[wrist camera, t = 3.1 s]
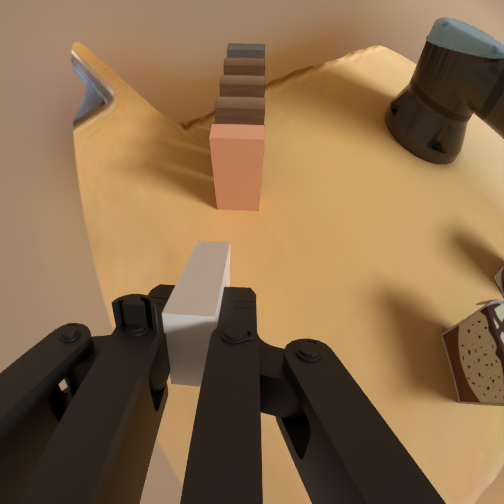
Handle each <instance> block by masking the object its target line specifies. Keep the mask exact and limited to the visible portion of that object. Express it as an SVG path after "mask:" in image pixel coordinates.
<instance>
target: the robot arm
mask: <svg viewBox="0 0 504 504" xmlns="http://www.w3.org/2000/svg"><path fill="white" fill-rule="evenodd" d="M426 39H427V41H426V44H425V46H424V49H423V51H422V54H421V56H420V59H419V61H418V64H417V66H416V69H415V71H414V73H413V76H412V78H411V81H410V83H409V84H408V85H407V86H406V87H405V88H404V89H403V90H402V91H401V92H400V93H399V94H398V95H397V96H396V97H395V98H394V99H393V100H392V101H391V102H390V104H389V106H388V109H387V111H386V113H385V121H386V124H387V127H388V129H389V130H390V132H391V133H392V135H393V136H394V137H395V138H396V140H397V141H398V142H399V143H400V144H402V145H403V146H404V147H405V148H406V149H408V150H409V151H410V152H412V153H413V154H415V155H416V156H418V157H420V158H422V159H424V160H427V161H429V162H432V163H436V164H448V163H451V162H453V161H454V160H455V158H456V157H457V156H458V154H459V153H460V151H461V149H462V145H463V141H464V136H465V132H466V127H467V123H468V121H469V119H470V117H471V116H472V114H473V113H474V114H476V115H477V116H478V117H479V118H481V119H482V120H483V121H484V122H485V123H487V124H488V125H489V126H490V127H491V128H492V129H493V130H495V131H496V132H497V133H498V134H499V135H500V136H501V137H502V138H503V139H504V45H503V44H501V43H500V42H498V41H497V40H495V39H494V38H493V37H492V36H490V35H488V34H487V33H485V32H483V31H481V30H480V29H478V28H476V27H474V26H471V25H469V24H467V23H464V22H462V21H459V20H456V19H452V18H445V17H444V18H439V19H437V20H436V21H435V23H434V25H433V27H432V29H431V31H430V33H429V35H428V36H427V38H426ZM112 308H113V313H114V318H115V323H116V328H115V330H114V331H113V333H112V334H111V335H107V336H94V337H91V333H90V330H89V328H88V327H87V326H85V325H83V324H78V323H69V324H66V325H63V326H61V327H59V328H57V329H55V330H54V331H53V332H52V333H50V334H49V335H48V336H46V337H45V338H44V339H43V340H41V341H40V342H39V343H37V344H36V345H35V346H34V347H33V348H31V349H30V350H28V351H27V352H26V353H25V354H24V355H22V356H21V357H20V358H18V359H17V360H16V361H15V362H14V363H12V364H11V365H10V366H9V367H7V368H6V369H5V370H4V371H2V372H1V373H0V504H139V503H140V499H141V495H142V491H143V487H144V483H145V479H146V475H147V471H148V467H149V463H150V459H151V455H152V452H153V448H154V444H155V440H156V437H157V433H158V429H159V426H160V422H161V418H162V415H163V411H164V408H165V404H166V400H167V397H168V387H167V379H168V376H169V373H170V378H171V384H180V385H191V386H201V388H200V394H199V399H198V404H197V410H196V415H195V421H194V426H193V432H192V437H191V443H190V449H189V454H188V460H187V466H186V472H185V478H184V484H183V490H182V496H181V502H180V504H263V495H262V452H261V413H260V412H262V413H266V414H269V415H273V416H276V421H277V423H278V426H279V428H280V431H281V433H282V435H283V438H284V440H285V442H286V445H287V447H288V450H289V452H290V454H291V457H292V459H293V461H294V463H295V466H296V468H297V470H298V473H299V475H300V477H301V479H302V482H303V484H304V486H305V488H306V491H307V493H308V495H309V497H310V500H311V502H312V504H446V503H445V502H444V500H443V499H442V498H441V496H440V495H439V494H438V492H437V491H436V490H435V488H434V487H433V485H432V484H431V483H430V481H429V480H428V479H427V477H426V476H425V475H424V473H423V472H422V470H421V469H420V468H419V466H418V465H417V464H416V462H415V461H414V460H413V458H412V457H411V456H410V454H409V453H408V451H407V450H406V449H405V447H404V446H403V445H402V443H401V442H400V441H399V439H398V438H397V437H396V435H395V434H394V433H393V431H392V430H391V428H390V427H389V426H388V424H387V423H386V422H385V420H384V419H383V418H382V416H381V415H380V414H379V412H378V411H377V410H376V408H375V407H374V406H373V404H372V403H371V402H370V400H369V399H368V397H367V396H366V395H365V393H364V392H363V391H362V389H361V388H360V387H359V385H358V384H357V383H356V381H355V380H354V379H353V377H352V376H351V375H350V373H349V372H348V371H347V369H346V368H345V367H344V365H343V364H342V363H341V361H340V360H339V359H338V357H337V356H336V355H335V353H334V352H333V351H332V349H331V348H330V347H329V346H327V345H326V344H325V343H323V342H320V341H318V340H313V339H298V340H294V341H292V342H290V343H289V344H287V345H286V347H285V349H282V348H278V347H274V346H271V345H269V344H267V343H265V342H264V341H262V340H261V339H260V338H259V336H258V334H257V316H256V294H255V293H254V292H253V290H252V289H251V288H243V287H230V242H218V241H198V242H197V244H196V246H195V248H194V250H193V252H192V254H191V256H190V258H189V260H188V262H187V264H186V266H185V268H184V270H183V271H182V273H181V275H180V277H179V279H178V281H177V283H176V285H162V284H160V285H158V286H157V287H155V288H154V289H152V290H151V291H150V293H149V294H148V296H147V295H143V294H130V295H125V296H122V297H119V298H117V299H116V300H114V301H113V302H112ZM63 379H65V382H66V384H67V386H68V387H67V388H66V389H64V390H63V391H61V389H60V387H59V385H58V384H59V383H60V382H61V381H62V380H63Z"/></svg>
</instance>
